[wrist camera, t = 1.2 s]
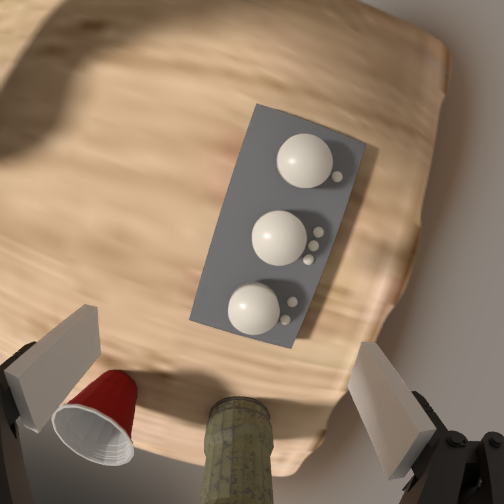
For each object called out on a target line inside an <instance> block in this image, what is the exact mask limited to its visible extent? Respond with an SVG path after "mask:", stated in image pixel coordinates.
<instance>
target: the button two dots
mask: <svg viewBox="0 0 504 504" xmlns="http://www.w3.org/2000/svg"><path fill="white" fill-rule="evenodd" d="M279 314H280V308H279V303H278V299H277V296H276V294H275V293H274V291H273V290H272V289H271V288H270V287H269V286H267V285H265V284H263V283H259V282H248V283H245V284H242V285H241V286H239V287H238V288H236V289H235V290H234V292H233V293H232V295H231V297H230V301H229V307H228V316H229V319H230V321H231V323H232V325H233V326H234V327H235V328H236V329H237V330H239V331H240V332H242V333H245V334H249V335H258V334H262V333H265V332H267V331H269V330H270V329H271V328H273V327H274V325H275V324H276V323H277V321H278V318H279Z"/></svg>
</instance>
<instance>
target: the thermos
mask: <svg viewBox="0 0 504 504" xmlns="http://www.w3.org/2000/svg"><path fill="white" fill-rule="evenodd" d="M273 448H274V445H273V434H272V426H271V424H270V415H269V412H268V410H267V408H266V407H265V406H264V405H263V404H262V403H260V402H258V401H257V400H255V399H251V398H247V397H230V398H225V399H223V400H221V401H219V402H217V403H216V404H215V405H214V406H213V407H212V409H211V412H210V415H209V421H208V423H207V426H206V433H205V439H204V452H205V455H206V462H205V470H204V477H203V485H202V492H201V499H200V504H273V490H272V476H271V463H270V455H271V453H272V450H273Z"/></svg>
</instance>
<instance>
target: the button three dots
mask: <svg viewBox="0 0 504 504" xmlns="http://www.w3.org/2000/svg"><path fill="white" fill-rule="evenodd" d="M306 242H307V234H306V230H305V227H304V225H303V224H302V222H301V221H300V220H299V219H298V218H297V217H296V216H294V215H293V214H291V213H289V212H287V211H284V210H272V211H269V212H266V213H265V214H263V215H262V216H260V217H259V218H258V220H257V221H256V223H255V224H254V227H253V230H252V244H253V248H254V250H255V252H256V254H257V255H258V256H259V258H260V259H262V260H263V261H264V262H266V263H268V264H271V265H275V266H283V265H287V264H290V263H292V262H294V261H295V260H297V259H298V258H299V257H300V256H301V254H302V253H303V251H304V249H305V246H306Z"/></svg>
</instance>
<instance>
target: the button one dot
mask: <svg viewBox="0 0 504 504" xmlns="http://www.w3.org/2000/svg"><path fill="white" fill-rule="evenodd" d="M276 164H277V169H278V172H279V174H280V175H281V177H282V178H283V179H284V180H285V181H286V182H287V183H288V184H290V185H292V186H294V187H298V188H312V187H316V186H318V185H320V184H322V183H323V182H324V181H325V180H326V179H327V178H328V176H329V175H330V173H331V170H332V166H333V158H332V154H331V151H330V149H329V147H328V146H327V144H326V143H325V142H324V141H323V140H321V139H320V138H319V137H317V136H314V135H311V134H298V135H295V136H292V137H290V138H289V139H288V140H287V141H286V142H285V143H284V144H283V145H282V146H281V148H280V149H279V151H278V154H277V159H276Z"/></svg>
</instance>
